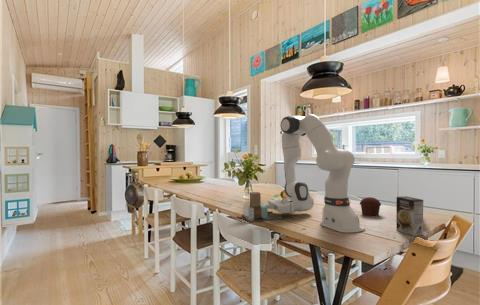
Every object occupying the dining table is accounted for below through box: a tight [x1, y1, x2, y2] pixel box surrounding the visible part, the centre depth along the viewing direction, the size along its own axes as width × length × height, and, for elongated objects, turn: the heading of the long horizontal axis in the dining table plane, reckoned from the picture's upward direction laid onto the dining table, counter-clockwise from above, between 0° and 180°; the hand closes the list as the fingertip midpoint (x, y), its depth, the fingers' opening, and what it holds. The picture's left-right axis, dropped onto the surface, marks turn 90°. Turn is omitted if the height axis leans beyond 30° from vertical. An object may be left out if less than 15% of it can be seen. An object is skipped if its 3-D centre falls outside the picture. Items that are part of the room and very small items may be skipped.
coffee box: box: [396, 195, 424, 237], centre depth 124 cm, size 9×6×16 cm
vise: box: [241, 203, 283, 223], centre depth 156 cm, size 16×20×7 cm
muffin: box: [359, 196, 382, 217], centre depth 158 cm, size 12×11×10 cm
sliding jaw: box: [261, 202, 269, 219], centre depth 156 cm, size 12×3×6 cm, turn 14°
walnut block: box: [249, 191, 262, 218], centre depth 155 cm, size 5×5×14 cm
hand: (265, 206), depth 156 cm, fingers closed
